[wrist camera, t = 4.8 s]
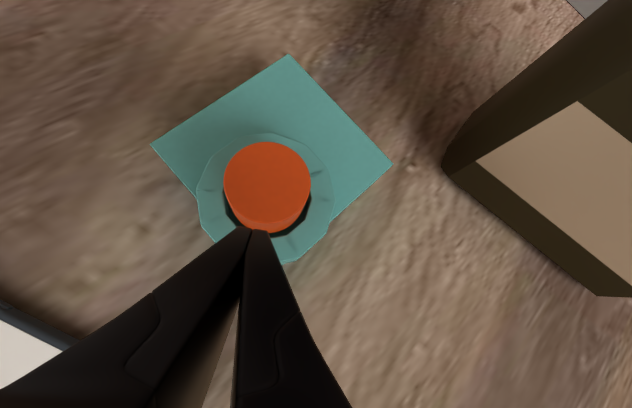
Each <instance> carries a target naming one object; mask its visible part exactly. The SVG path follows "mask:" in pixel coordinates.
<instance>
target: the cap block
mask: <svg viewBox="0 0 632 408" xmlns="http://www.w3.org/2000/svg"><path fill="white" fill-rule="evenodd" d="M259 142H275V143H279V144H282V145H285V146H287V147H289V148H290V149H292V150H293V151H295V152H296V153H297V154H298V155H299V156H300V157H301V158H302V159H303V161H304V162H305V164H306V166H307V168H308V170H309V174H310V179H311V187H310V193H309V196H308V199H307V201H306V203H305V205H304V207H303V210H302V212H301V214H300V215H299V217H298V218H297V220H296V221H295V222H294V223H293V224H292V225H291V226H289V227H288V228H286V229H284V230H282V231H279V232H275V233H268V234H269V236H270V239H271V241H272V243H273V246H274V248H275V251H276V253H277V255H278V258H279V260H280V263H281V265H283V264H285V263H289V262H294V261H296V260H298V259H299V258H300V257H301V256H302V255H303V254H305V253H306V252H307V251H308V250H309V249H310V248H311V247H312V246H313V245H314V244H315V243H317V242H318V241H319V240H320V239H321V238H322V237H323V236H324V235H325V234H326V232H327V229H328V226H329V223H330V222H331V221H332V220H333V219H334V218H335V217H337V216H338V215H339V214H340V213H341V212H342V211H343V210H344V209H345V208H347V207H348V206H349V205H350V204H351V203H352V202H353V201H354V200H355V199H357V198H358V197H359V196H360V195H361V194H362V193H363V192H364V191H365V190H367V189H368V188H369V187H370V186H371V185H372V184H373V183H374V182H375V181H376V180H377V179H378V178H379V177H381V176H382V175H383V174H384V173H385V172H386V171H387V170H388V169H389V168H390V167H391V166H392V165H393V163H392V162H391V161H390V160H389V159H388V158H387V157H386V155H385V154H384V153H383V152H382V151H381V150H380V149H379V148H378V147H377V146H376V145H375V144H374V143H373V142H372V141H371V140H370V139H369V138H368V137H367V135H366V134H365V133H364V132H363V131H362V130H361V129H360V128H359V127H358V126H357V125H356V124H355V123H354V122H353V121H352V120H351V119H350V118H349V117H348V115H347V114H346V113H345V112H344V111H343V110H342V109H341V108H340V107H339V106H338V105H337V104H336V103H335V102H334V101H333V100H332V99H331V98H330V97H329V95H328V94H327V93H326V92H325V91H324V90H323V89H322V88H321V87H320V86H319V85H318V84H317V83H316V82H315V81H314V80H313V79H312V78H311V76H310V75H309V74H308V73H307V72H306V71H305V70H304V69H303V68H302V67H301V66H300V65H299V64H298V63H297V62H296V61H295V60H294V59H293V58H292V56H291V55H290V54H287V55H286V56H284V57H283V58H281V59H280V60H278V61H276V62H275V63H273V64H272V65H270V66H269V67H267V68H266V69H264V70H263V71H261V72H260V73H258V74H256V75H255V76H253V77H252V78H250V79H249V80H247V81H246V82H244V83H243V84H241V85H240V86H238V87H236V88H235V89H233V90H232V91H230V92H229V93H227V94H226V95H224V96H223V97H221V98H220V99H218V100H216V101H215V102H213V103H212V104H210V105H209V106H207V107H206V108H204V109H203V110H201V111H200V112H198V113H196V114H195V115H193V116H192V117H190V118H189V119H187V120H186V121H184V122H183V123H181V124H180V125H178V126H176V127H175V128H173V129H172V130H170V131H169V132H167V133H166V134H164V135H163V136H161V137H160V138H158V139H156V140H155V141H153V142H152V143H150V145H151V147H152V148H153V149H154V150H155V151H156V152H157V154H158V155H159V156H160V157H161V158H162V160H163V161H164V162H165V163H166V164H167V166H168V167H169V168H170V169H171V170H172V171H173V173H174V174H175V175H176V176H177V177H178V178H179V180H180V181H181V182H182V183H183V184H184V185H185V187H186V188H187V189H188V190H189V191H190V192H191V193H192V195H193V196H194V197H195V198H196V199H197V203H198V211H199V218H200V224H201V226H202V228H203V229H204V230H205V231H206V233H207V234H208V235H209V236H210V237H211V238H212V240H213V241H214V242H215V243H217V242H218V241H219V240H221V239H222V238H223V237H225V236H226V235H227V234H228V233H230V232H231V231H232V230H234V229H235V228H236V227H238V226H241V227H245V226H244V225H243V224H242V223H241V222H240V221H239V220H238V219H237V218H236V216H235V214H234V213H233V211H232V208H231V206H230V204H229V202H228V200H227V198H226V195H225V191H224V185H223V180H224V173H225V170H226V167H227V165H228V163H229V161H230V160H231V159H232V157H233V156H234V155H235V154H236V153H237V152H239V151H240V150H241V149H243V148H244V147H246V146H248V145H251V144H254V143H259Z"/></svg>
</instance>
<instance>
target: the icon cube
mask: <svg viewBox="0 0 632 408" xmlns="http://www.w3.org/2000/svg"><path fill="white" fill-rule="evenodd" d="M567 1H568V2H569V3H570V4H571V5H572V6H573V7H574V8H575V9H576V10H577V11H578V12H579V13H580V14H581V15H582V16H583V17H584V18H585V19H586V18H587V17H588V16H590V15H591V14H592V13H593V12H594V11H596V10H597V9H598V8H599V7H600V6H602V5H603V4H604V3H605V2H606V1H608V0H567Z"/></svg>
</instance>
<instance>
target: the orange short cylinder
mask: <svg viewBox="0 0 632 408" xmlns="http://www.w3.org/2000/svg"><path fill="white" fill-rule="evenodd" d="M223 185H224V191H225V195H226V198H227V200H228V202H229V204H230V206H231V208H232V211H233V213H234V214H235V216H236V218H237V219H238V220H239V221H240V222H241V223H242V224H243V225H244V226H245V227H247V228H251V229H252V230H253V229H260V230H266V231H267V232H268V233H275V232H279V231H282V230H284V229H286V228H288V227H289V226H291V225H292V224H293V223H294V222H295V221H296V220H297V218H298V217H299V215H300V214H301V212H302V210H303V207H304V205H305V203H306V201H307V199H308V196H309V193H310V187H311V179H310V174H309V170H308V168H307V166H306V164H305V162H304V161H303V159H302V158H301V157H300V156H299V155H298V154H297V153H296V152H295V151H293V150H292V149H290V148H289V147H287V146H285V145H282V144H279V143H275V142H259V143H254V144H251V145H248V146H246V147H244V148H243V149H241V150H240V151H239V152H237V153H236V154H235V155H234V156H233V157H232V159H231V160H230V161H229V163H228V165H227V167H226V170H225V173H224V180H223Z"/></svg>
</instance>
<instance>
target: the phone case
mask: <svg viewBox="0 0 632 408" xmlns="http://www.w3.org/2000/svg"><path fill="white" fill-rule="evenodd" d="M79 341H80V340H78V339H76V338H74V337H72V336H70V335H68V334H66V333H64V332H62V331H60V330H58V329H56V328H54V327H52V326H50V325H48V324H46V323H44V322H42V321H40V320H38V319H36V318H34V317H32V316H30V315H28V314H26V313H24V312H22V311H20V310H18V309H16V308H14V307H13V306H12V305H10V304H8V303H6V302H4V301H2V300H0V389H1V388H3V387H5V386H7V385H9V384H11V383H12V382H14V381H16V380H18V379H19V378H21V377H23V376H24V375H26V374H27V373H29V372H31V371H32V370H34V369H35V368H37V367H39V366H40V365H42V364H43V363H45V362H47V361H48V360H50V359H51V358H53V357H55V356H56V355H58V354H59V353H61V352H63V351H64V350H66V349H68V348H69V347H71V346H72V345H74V344H76V343H77V342H79Z"/></svg>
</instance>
